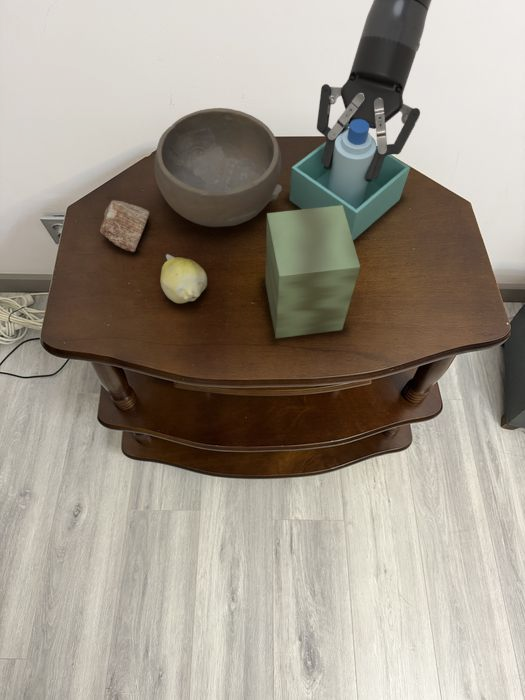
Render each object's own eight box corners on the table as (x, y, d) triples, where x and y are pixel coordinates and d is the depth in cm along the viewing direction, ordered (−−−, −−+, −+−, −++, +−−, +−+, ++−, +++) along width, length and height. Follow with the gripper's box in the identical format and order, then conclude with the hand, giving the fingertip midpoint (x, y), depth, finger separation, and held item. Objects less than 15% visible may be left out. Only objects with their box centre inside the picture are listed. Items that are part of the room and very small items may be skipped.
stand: (328, 275, 74) (342, 204, 62) (342, 330, 70) (360, 266, 58) (265, 282, 74) (266, 213, 61) (275, 338, 69) (279, 276, 57)
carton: (399, 199, 81) (410, 167, 75) (349, 244, 77) (356, 213, 71) (340, 160, 85) (346, 126, 79) (289, 200, 81) (291, 167, 75)
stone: (121, 261, 78) (139, 252, 74) (87, 238, 74) (104, 228, 71) (138, 222, 81) (156, 212, 77) (105, 199, 77) (123, 187, 74)
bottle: (369, 192, 81) (388, 121, 69) (352, 216, 79) (369, 146, 67) (337, 178, 82) (350, 105, 71) (319, 201, 80) (330, 130, 68)
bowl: (302, 200, 81) (307, 148, 72) (214, 265, 75) (209, 217, 66) (226, 142, 86) (222, 87, 77) (139, 199, 81) (125, 146, 72)
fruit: (187, 251, 76) (222, 293, 71) (154, 277, 76) (188, 321, 71) (168, 227, 71) (205, 271, 66) (133, 255, 71) (168, 301, 66)
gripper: (332, 22, 67) (294, 159, 72) (445, 49, 64) (396, 189, 70) (339, 39, 74) (304, 163, 79) (441, 64, 71) (397, 190, 77)
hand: (347, 175), depth 74 cm, fingers closed on bottle, 5 cm apart
